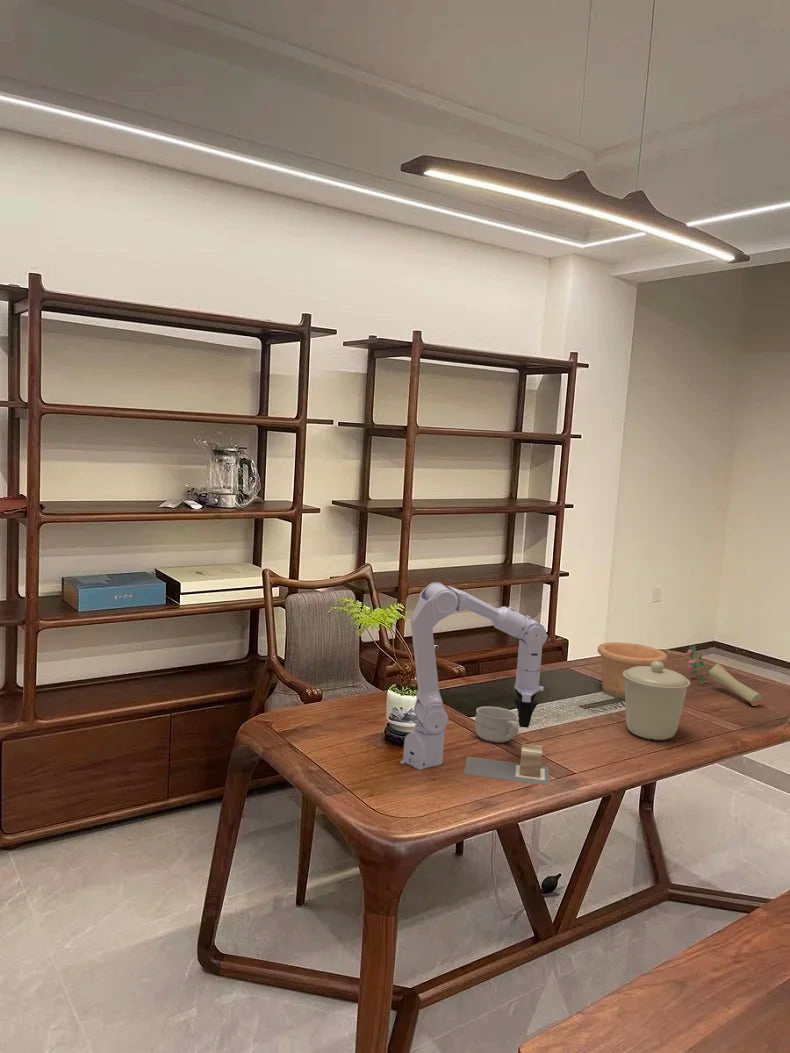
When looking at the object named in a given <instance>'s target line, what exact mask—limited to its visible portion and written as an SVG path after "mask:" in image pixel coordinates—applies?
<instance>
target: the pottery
mask: <svg viewBox="0 0 790 1053" xmlns="http://www.w3.org/2000/svg"><path fill="white" fill-rule="evenodd" d="M597 652H598V654H599V655H600V663H601V664H600V666H601V667H600V668H601V687H602V691H603V693H605V694H606V693H607V694H606V695H608V696H610V695H611V697H613V696H614V697H613V698H616V697H618V698H617V699H620V698H622V699H621V700H624V699H625V677H624V676H623V672H624V671H625V670H628V669H630V668H632V667H637V666H651V663H652V662H654V661H660V662H662V663H663V664H665V663H666V662H667V660H668V654H666V652H665V651H663V650H660V649H659V648H658V649H657V648H654V647H652V646H648V645H643V644H638V643H633V642H632V643H631V642H620V641H619V642H618V641H615V642H613V641H612V642H606V643H605V642H604V643H601V644H599V645H598V646H597Z"/></svg>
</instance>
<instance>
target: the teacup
mask: <svg viewBox="0 0 790 1053" xmlns="http://www.w3.org/2000/svg"><path fill="white" fill-rule="evenodd" d="M475 712H476V713H475V723H474V724H475V725H474V728H475V729H474V730H475V733H476V736H478V737H479V738H480V739H481V740H483V741H487V742H490V743H498V744H500V743H506V742H509V741H510V740H511V739H513V738H515V737H516V736H517V735H518V733H519V724H518V723H517V718H518V714H517V713H516V712H515V711H512V710H510V709H507V708H503V707H499V706H480V707H477V708H476V709H475Z"/></svg>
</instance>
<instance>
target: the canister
mask: <svg viewBox="0 0 790 1053" xmlns="http://www.w3.org/2000/svg"><path fill="white" fill-rule="evenodd" d="M623 676H624V677H625V700H624V701H625V702H624V703H625V705H624V706H625V723H626V727H627V729H628V730H629V732H631V733H632V734H633V735H635V736H637V737H640V738H642V739H646V740H651V739H653V741H666V739H667V740H670V739H672V738H673V737H674V736H675V735H676V733H677V732H678V728H679V725H680V720H681V716H682V712H683V708H684V703H685V699H686V695H687V688H689V687H690V685H691V682H690V679H688V678H686V677H685V676H684V675H683V674H681V673H679V672H677V671H674V670H671V669H668V668H665V665H664V663H662V662H660V661H654V662H652V663H651V666H637V667H632V668H630V669H628V670H625V671H624V672H623ZM669 738H670V739H669Z"/></svg>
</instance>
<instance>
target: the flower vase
mask: <svg viewBox="0 0 790 1053" xmlns="http://www.w3.org/2000/svg"><path fill="white" fill-rule="evenodd" d="M688 647H689V648H688V649H687V651H686V655H687V657H690V659H689V660H688V661H687V664H686V666H687V669H688V671H690V674H693V675H694V674H697V673H701V674H702V672H701V671H698V670H700V669H704V670H706V671H708V673H706V672H705V673H704V672H703V674H707V675H706V676H702V675H700V676H699V677H698V678H697V681H700V682H703V681H705V680H707V681H708V675H709V676H710V678H711V680H712V681H715V682H717V683H719V684H721V685H724V686H725V687H727V688H729V689H731V690H732V691H733V692H734V693H736V694H737V695H738V696H739V695H740V696H741V697H740V696H739V697H740V698H742V697H743V698H745V699H747V700H750V701H757V700H762V701H763V699H764V696H763V694H761V693H759V692H757V691H755V690H754V689H752V688H751V687H749V686H747V685H746V684H743V682H740V681H739V680H738V679H736V678H735V677H734V676H733V675H732V674H731V673H730V672H728V671H727V670H726V669H725V668H724V667H723V666H721V665H720V664H719V663H716V664H715V665H714V666H712V668H711V669H709V667H708V666H707V665H706V664H705V663H704V662H703V660H702V654H700V655H699V656H698V655H697V654H695V653H697V651H698V650H697V648H696V644H695V643H693V645H689V646H688ZM693 656H695V657H696V658H697V659H696V658H695V657H693ZM698 660H699V661H698ZM743 698H742V699H743Z"/></svg>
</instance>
